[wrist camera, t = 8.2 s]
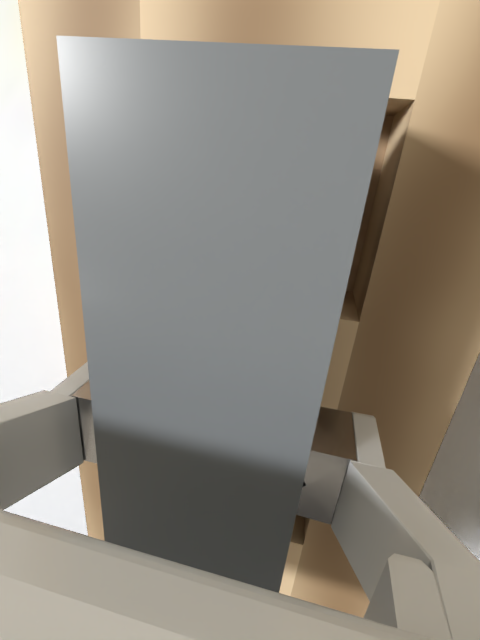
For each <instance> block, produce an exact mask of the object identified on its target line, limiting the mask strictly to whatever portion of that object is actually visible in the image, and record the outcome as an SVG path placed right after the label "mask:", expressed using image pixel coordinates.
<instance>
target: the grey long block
mask: <svg viewBox="0 0 480 640" xmlns="http://www.w3.org/2000/svg"><path fill="white" fill-rule="evenodd" d="M56 38H57V49H58V59H59V70H60V80H61V91H62V101H63V111H64V122H65V132H66V143H67V153H68V164H69V174H70V185H71V195H72V205H73V216H74V226H75V237H76V247H77V258H78V268H79V279H80V289H81V299H82V310H83V320H84V331H85V341H86V352H87V362H88V373H89V383H90V393H91V404H92V414H93V425H94V435H95V446H96V456H97V467H98V477H99V487H100V498H101V508H102V519H103V529H104V540H105V541H106V542H110V543H113V544H116V545H120V546H123V547H126V548H130V549H133V550H136V551H140V552H143V553H146V554H150V555H153V556H157V557H160V558H163V559H167V560H170V561H173V562H177V563H180V564H183V565H187V566H190V567H193V568H197V569H200V570H203V571H207V572H210V573H214V574H217V575H220V576H224V577H227V578H230V579H234V580H237V581H240V582H244V583H247V584H251V585H254V586H257V587H261V588H264V589H267V590H271V591H274V592H278V593H279V590H280V586H281V581H282V577H283V572H284V568H285V563H286V559H287V554H288V550H289V545H290V541H291V536H292V532H293V527H294V523H295V518H296V514H297V509H298V505H299V500H300V496H301V491H302V487H303V482H304V478H305V473H306V469H307V464H308V460H309V455H310V451H311V446H312V442H313V437H314V433H315V428H316V424H317V419H318V415H319V410H320V406H321V401H322V397H323V392H324V388H325V383H326V379H327V374H328V370H329V365H330V360H331V356H332V351H333V347H334V342H335V338H336V333H337V329H338V324H339V320H340V315H341V311H342V306H343V302H344V297H345V293H346V288H347V284H348V279H349V275H350V270H351V266H352V261H353V257H354V252H355V248H356V243H357V239H358V234H359V230H360V225H361V221H362V216H363V212H364V207H365V203H366V198H367V194H368V189H369V185H370V180H371V176H372V171H373V167H374V162H375V158H376V153H377V149H378V144H379V140H380V135H381V131H382V126H383V122H384V117H385V113H386V108H387V104H388V99H389V95H390V90H391V86H392V81H393V77H394V72H395V68H396V63H397V59H398V54H399V50H397V49H373V48H348V47H324V46H299V45H275V44H250V43H226V42H201V41H177V40H153V39H128V38H104V37H79V36H56Z"/></svg>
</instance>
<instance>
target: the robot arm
mask: <svg viewBox="0 0 480 640" xmlns="http://www.w3.org/2000/svg"><path fill="white" fill-rule="evenodd" d="M84 461H88V462H92V463H97V456H96V446H95V435H94V425H93V414H92V404H91V393H90V383H89V373H88V362H86V363H85V364H84V365H83V366H81V367H80V368H79V369H78V370H76V371H75V372H74V373H73V374H71V375H70V376H69V377H68V378H66V379H65V380H64V381H63V382H61V383H60V384H59V385H58V386H56V387H55V388H54V389H53V390H51V391H45V390H44V391H40V392H37V393H34V394H30V395H27V396H24V397H20V398H17V399H14V400H10V401H7V402H4V403H0V640H480V561H479V560H478V559H477V558H476V557H475V556H474V555H473V554H472V553H471V552H470V551H469V550H468V549H467V548H466V546H465V545H464V544H463V543H462V542H461V541H460V540H459V539H458V538H457V537H456V536H455V535H454V534H453V533H452V532H451V531H450V530H449V529H448V528H447V526H446V525H445V524H444V523H443V522H442V521H441V520H440V519H439V518H438V517H437V516H436V515H435V514H434V513H433V512H432V511H431V510H430V509H429V507H428V506H427V505H426V504H425V503H424V502H423V501H422V500H421V499H420V498H419V497H418V496H417V495H416V494H415V493H414V492H413V491H412V490H411V489H410V487H409V486H408V485H407V484H406V483H405V482H404V481H403V480H402V479H401V478H400V477H399V476H398V475H397V474H396V473H395V472H394V471H393V470H391V469H386V467H385V462H384V457H383V452H382V447H381V442H380V437H379V433H378V428H377V423H376V418H375V417H374V416H372V415H367V414H361V413H355V412H347V411H342V410H337V409H331V408H326V407H321V406H320V410H319V415H318V419H317V424H316V428H315V433H314V437H313V442H312V446H311V451H310V455H309V460H308V464H307V469H306V473H305V478H304V482H303V487H302V491H301V496H300V500H299V505H298V509H297V514H296V515H299V516H302V517H306V518H309V519H313V520H316V521H320V522H323V523H326V524H330V525H331V528H332V530H333V532H334V534H335V536H336V538H337V540H338V541H339V543H340V545H341V547H342V549H343V551H344V553H345V555H346V557H347V559H348V561H349V563H350V565H351V567H352V568H353V570H354V572H355V574H356V576H357V578H358V580H359V582H360V584H361V586H362V588H363V590H364V592H365V594H366V595H367V597H368V599H369V601H370V603H369V606H368V608H367V610H366V613H365V615H364V618H362V617H358V616H355V615H352V614H348V613H345V612H341V611H338V610H335V609H331V608H328V607H325V606H321V605H318V604H315V603H311V602H308V601H304V600H301V599H298V598H294V597H291V596H288V595H284V594H281V593H278V592H274V591H271V590H267V589H264V588H261V587H257V586H254V585H251V584H247V583H244V582H240V581H237V580H234V579H230V578H227V577H224V576H220V575H217V574H214V573H210V572H207V571H203V570H200V569H197V568H193V567H190V566H187V565H183V564H180V563H177V562H173V561H170V560H167V559H163V558H160V557H157V556H153V555H150V554H146V553H143V552H140V551H136V550H133V549H130V548H126V547H123V546H120V545H116V544H113V543H110V542H106V541H103V540H100V539H96V538H93V537H90V536H86V535H83V534H80V533H76V532H73V531H70V530H66V529H63V528H60V527H56V526H53V525H49V524H46V523H43V522H39V521H36V520H33V519H29V518H26V517H23V516H19V515H16V514H13V513H9V512H6V511H3V510H4V509H6V508H8V507H9V506H11V505H13V504H14V503H16V502H18V501H20V500H21V499H23V498H25V497H26V496H28V495H30V494H31V493H33V492H35V491H36V490H38V489H40V488H41V487H43V486H45V485H47V484H48V483H50V482H52V481H53V480H55V479H57V478H58V477H60V476H62V475H63V474H65V473H67V472H69V471H70V470H72V469H74V468H75V467H77V466H79V465H80V464H82V463H83V462H84Z"/></svg>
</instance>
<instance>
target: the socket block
mask: <svg viewBox="0 0 480 640" xmlns="http://www.w3.org/2000/svg"><path fill="white" fill-rule="evenodd" d="M18 5H19V12H20V20H21V27H22V35H23V43H24V50H25V58H26V66H27V73H28V81H29V88H30V96H31V104H32V111H33V119H34V126H35V134H36V142H37V149H38V157H39V165H40V172H41V180H42V187H43V195H44V203H45V210H46V218H47V226H48V233H49V241H50V248H51V256H52V264H53V271H54V279H55V287H56V294H57V302H58V309H59V317H60V325H61V332H62V340H63V348H64V355H65V363H66V370H67V378H68V377H69V376H70V375H71V374H73V373H74V372H75V371H76V370H78V369H79V368H80V367H81V366H83V365H84V364H85V363H86V362H87V352H86V341H85V331H84V320H83V310H82V299H81V289H80V279H79V268H78V258H77V247H76V237H75V226H74V216H73V205H72V195H71V185H70V174H69V164H68V153H67V143H66V132H65V122H64V111H63V101H62V91H61V80H60V70H59V59H58V49H57V38H56V36H79V37H104V38H128V39H153V40H177V41H201V42H226V43H250V44H275V45H299V46H324V47H348V48H373V49H397V50H399V54H398V59H397V63H396V68H395V72H394V77H393V81H392V86H391V90H390V95H389V99H388V104H387V108H386V113H385V117H384V122H383V126H382V131H381V135H380V140H379V144H378V149H377V153H376V158H375V162H374V167H373V171H372V176H371V180H370V185H369V189H368V194H367V198H366V203H365V207H364V212H363V216H362V221H361V225H360V230H359V234H358V239H357V243H356V248H355V252H354V257H353V261H352V266H351V270H350V275H349V279H348V284H347V288H346V293H345V297H344V302H343V306H342V311H341V315H340V320H339V324H338V329H337V333H336V338H335V342H334V347H333V351H332V356H331V360H330V365H329V370H328V374H327V379H326V383H325V388H324V392H323V397H322V401H321V407H326V408H331V409H337V410H342V411H347V412H355V413H361V414H367V415H372V416H374V417H375V418H376V423H377V428H378V433H379V437H380V442H381V447H382V452H383V457H384V462H385V467H386V469H391V470H393V471H394V472H395V473H396V474H397V475H398V476H399V477H400V478H401V479H402V480H403V481H404V482H405V483H406V484H407V485H408V486H409V487H410V489H411V490H412V491H413V492H414V493H415V494H416V495H417V496H418V497H419V495H420V493H421V491H422V488H423V486H424V483H425V481H426V479H427V476H428V474H429V472H430V469H431V467H432V464H433V462H434V460H435V457H436V455H437V453H438V450H439V448H440V445H441V443H442V441H443V438H444V436H445V434H446V431H447V429H448V426H449V424H450V422H451V419H452V417H453V415H454V412H455V410H456V408H457V405H458V403H459V400H460V398H461V396H462V393H463V391H464V389H465V386H466V384H467V381H468V379H469V377H470V374H471V372H472V370H473V367H474V365H475V362H476V360H477V358H478V355H479V353H480V0H18ZM79 470H80V477H81V485H82V492H83V500H84V508H85V515H86V523H87V531H88V536H90V537H93V538H96V539H100V540H103V541H105V540H104V529H103V519H102V508H101V498H100V487H99V477H98V467H97V463H92V462H88V461H84V462H83V463H82V464H80V465H79ZM279 593H281V594H284V595H288V596H291V597H294V598H298V599H301V600H304V601H308V602H311V603H315V604H318V605H321V606H325V607H328V608H331V609H335V610H338V611H341V612H345V613H348V614H352V615H355V616H358V617H362V618H364V615H365V613H366V610H367V608H368V606H369V603H370V601H369V599H368V597H367V595H366V594H365V592H364V590H363V588H362V586H361V584H360V582H359V580H358V578H357V576H356V574H355V572H354V570H353V568H352V567H351V565H350V563H349V561H348V559H347V557H346V555H345V553H344V551H343V549H342V547H341V545H340V543H339V541H338V540H337V538H336V536H335V534H334V532H333V530H332V528H331V525H330V524H326V523H323V522H320V521H316V520H313V519H309V518H306V517H302V516H299V515H296V518H295V523H294V527H293V532H292V536H291V541H290V545H289V550H288V554H287V559H286V563H285V568H284V572H283V577H282V581H281V586H280V590H279Z"/></svg>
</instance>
